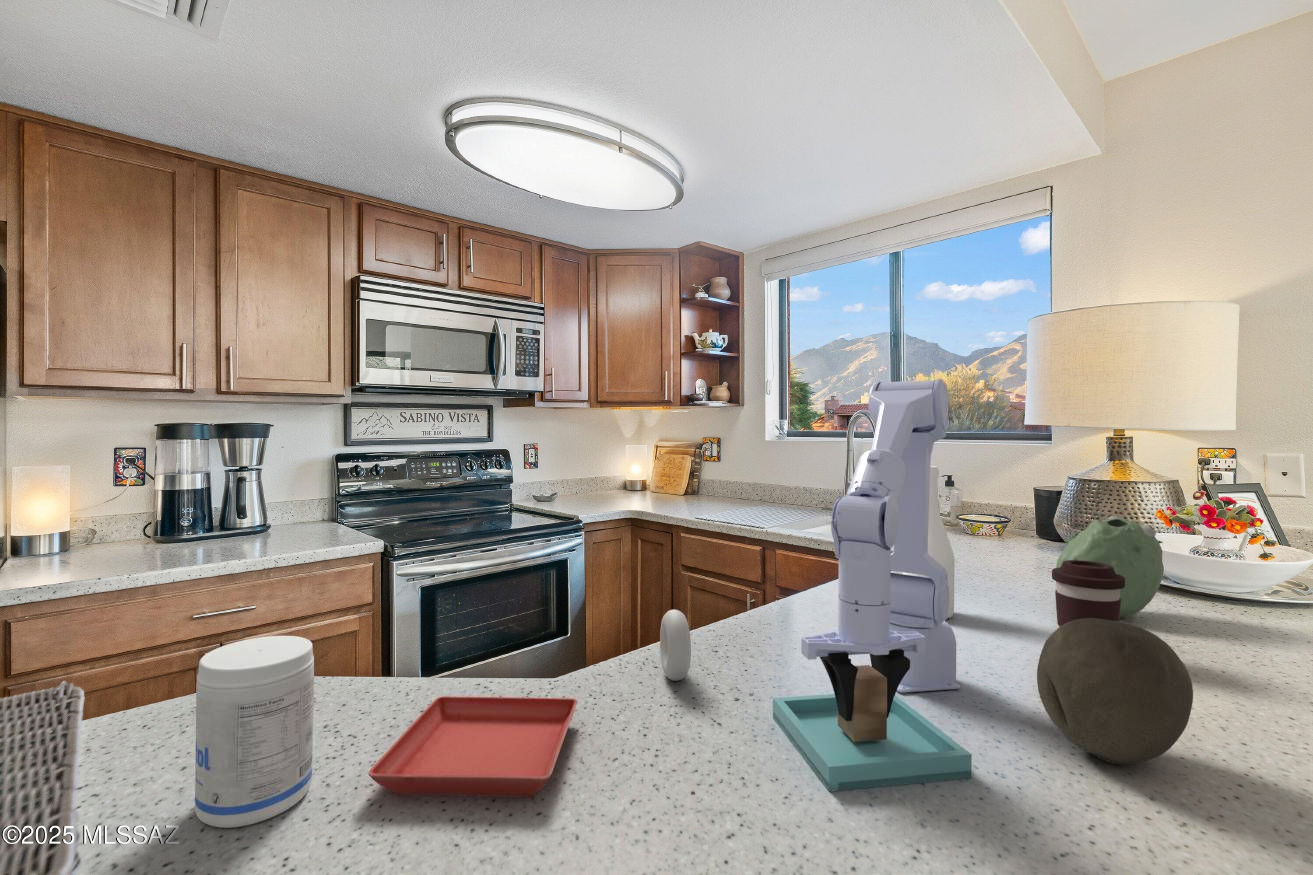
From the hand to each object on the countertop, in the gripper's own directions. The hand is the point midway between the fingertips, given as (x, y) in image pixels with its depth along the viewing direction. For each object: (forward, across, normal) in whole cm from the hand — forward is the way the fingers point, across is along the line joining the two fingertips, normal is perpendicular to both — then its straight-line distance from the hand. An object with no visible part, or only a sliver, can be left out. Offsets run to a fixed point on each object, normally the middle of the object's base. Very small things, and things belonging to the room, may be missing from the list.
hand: (863, 715), depth 70 cm
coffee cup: (+4, +52, +22) cm, 57 cm away
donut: (+4, -18, +22) cm, 29 cm away
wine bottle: (+4, +39, +46) cm, 60 cm away
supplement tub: (+4, -64, -1) cm, 64 cm away
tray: (+3, 0, 0) cm, 3 cm away
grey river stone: (+4, +27, -6) cm, 28 cm away
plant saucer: (+4, -43, +4) cm, 43 cm away
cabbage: (+4, +75, +40) cm, 85 cm away
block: (+2, 0, 0) cm, 2 cm away
